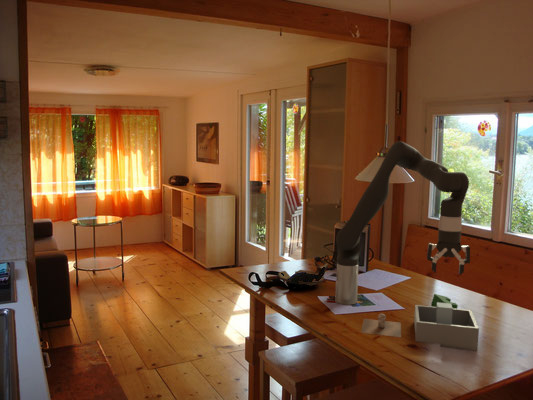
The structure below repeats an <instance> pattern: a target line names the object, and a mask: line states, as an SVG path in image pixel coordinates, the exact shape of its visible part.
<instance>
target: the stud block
mask: <svg viewBox="0 0 533 400" xmlns="http://www.w3.org/2000/svg"><path fill="white" fill-rule="evenodd" d="M377 318H378V319H371V318H370V319H369V318H363V321H362V326H361V333H362V334H370V335H378V336H388V337H394V338H395V337H396V338H401V337H402V323H401V322H398V321H397V322H396V321H389V320H388V321H387V320H386V314H384V313H379V314H378V315H377Z"/></svg>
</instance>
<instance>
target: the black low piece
mask: <svg viewBox="0 0 533 400" xmlns="http://www.w3.org/2000/svg"><path fill="white" fill-rule="evenodd" d="M328 266H329V263H324V265H321V266H319V265H317V266H316V271H311V270H306V269H305V270H304V269H299V270H297V271H296V270H295V271H294V275H295V274H296V273H299V272H306V273H309V274H315V275H318V274H319V272H320V271H321V269H322V268H323V267H325V270H326V269H327V268H328ZM281 273H283V274H284V276H283V275H282V274H281ZM277 276H278V279H279V280H280V281H283V282H286V283H287V282H290V281H291V280H288V279H289V278H290V277H292V276H290V274H289V273H288V272H287V271H286V270H281V271H279V272H278V274H277ZM324 280H325V277H324V275H323V276H322V278H321V279H320V280H319V281H312V282H303V281H298V282H299V284H307V285H309V286H308V287H310V286H311V287H312V286H316V285H318V284H320V283H322V282H324Z"/></svg>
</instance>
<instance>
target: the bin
mask: <svg viewBox="0 0 533 400" xmlns="http://www.w3.org/2000/svg"><path fill="white" fill-rule="evenodd" d="M413 318H414V319H413V321H414V322H413V324H414V326H413V327H414V336H415V337H414V338H415V342H418V343H427V344H435V345H436V344H437V345H440V348H447V349H456V350H464V351H465V350H466V351H472V352H473V351H474V352H478V346H479V333H480V331H479V330H480V328H479V326H478V323H477V321H476V319H475V316H474V314H473V312H472V309H465V308H464V309H463V308H457V309H454V308H453V310H452V325H450V324H441V323H436V307H433V306H431V305H421V304H415V305H414V317H413Z"/></svg>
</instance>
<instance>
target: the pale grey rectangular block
mask: <svg viewBox="0 0 533 400" xmlns="http://www.w3.org/2000/svg"><path fill="white" fill-rule="evenodd" d="M452 310H453V308H452V305H451V304H449V303H439V302H437V305H436V323H441V324H450V325H452Z"/></svg>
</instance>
